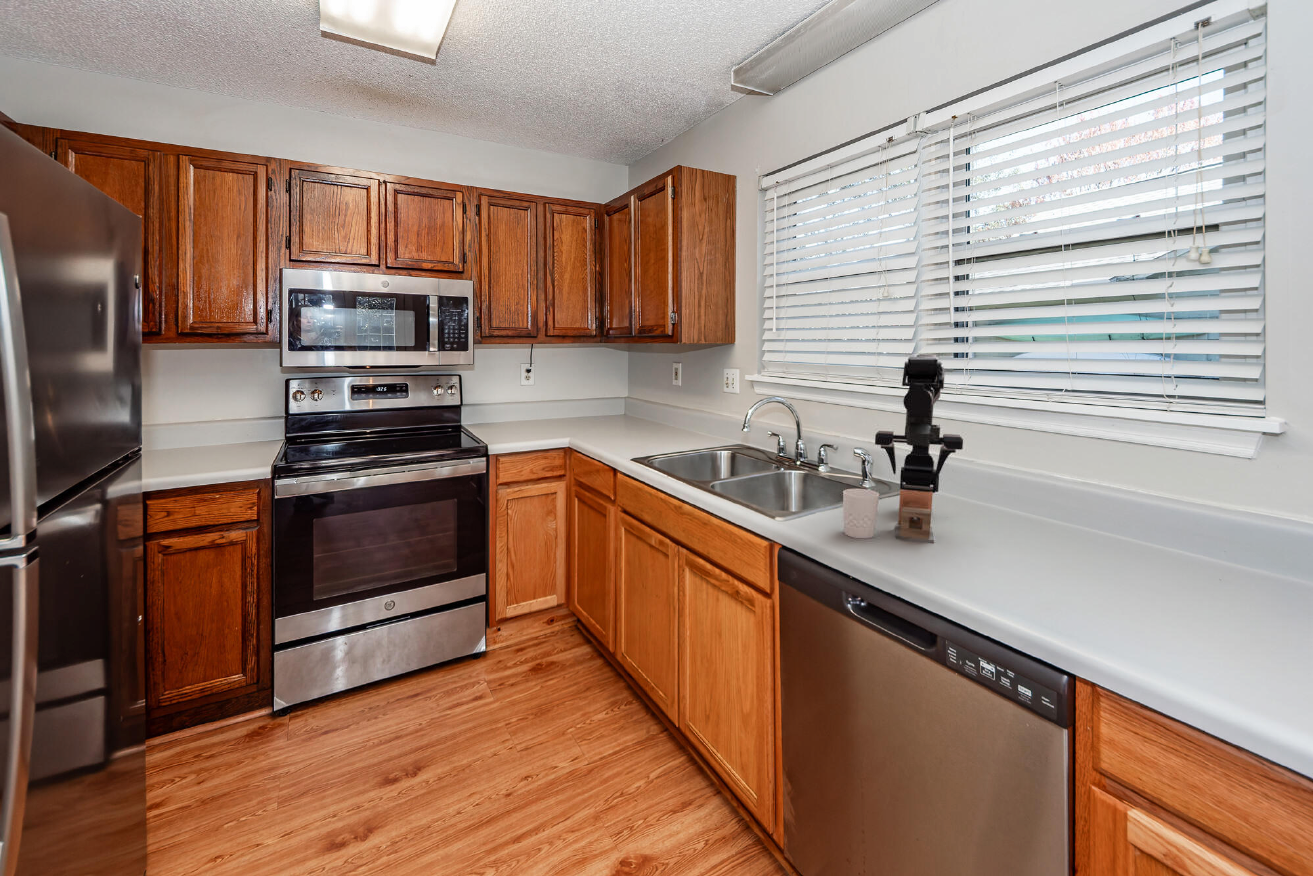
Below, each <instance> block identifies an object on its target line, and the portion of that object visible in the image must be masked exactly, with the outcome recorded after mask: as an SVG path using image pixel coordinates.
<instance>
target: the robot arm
mask: <svg viewBox="0 0 1313 876" xmlns="http://www.w3.org/2000/svg"><path fill="white" fill-rule="evenodd" d="M942 364H943V363H942V362H941V361H939V355H936V354H935V353H934V354H933V353H931V354H929V353H925V354H921V353H920V354H919V355H916V356H909V357H908V359H907V361H905V362H904V366H903V367H904V368H903V376H902V381H901V382H902V384H901V386H902V387H908V390H907V393H906V394H905V396H904V397H903V400H902V401H903V406H904V409H905V410H906V412H905V413H906V415H905V427H904V435H903V434H894V431H889V430H878V431H877V432H876V433H875V435H874V436H875V438H874V445H875V446H876V445H877V446H880V449H883V450H885V452H886V454H887V456H888V458H889V461H890V466H891V469H892V472H893V475H896V472H897V462H896V449H895V443H898V444H899V443H902V444H906V445H907V446H912V449H911V451H910V453H907V455H906V456H905V459H904V464H903V466H901V468H900V475H899V476H900V477H899V478H900V479H899V482H900V483H899V490H900V489H901V490H914V491H926V492H933V494H935V493H939V487H940V486H939V485H940V473H941V471H942V468H943V466H944V465H945V462H946V460H947V459H948V457H949V456H950V454H952V453H953V454H954V453H956V452H957V450H963V447H964V446H963V445H964V438H963V437H962V436H961V435H960V434H956V433H955V434H954V433H953V434H952V433H950V434H949V433H943V435H942V436H941V437H940V435H941V433H940V432H941V425H940V424H933V419H934V417H933V416H934V404H935V403H936V402H937V401H938V400H939V399H940V397H941V391H942V390H944V387H945V367H944V366H943V365H942ZM930 445H935V446H937V445H939V446H940V448H939V453H938V459H937V463H936V469H935V461H934V459H933V456H932V455H931V454H930Z"/></svg>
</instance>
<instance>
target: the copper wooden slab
mask: <svg viewBox="0 0 1313 876" xmlns="http://www.w3.org/2000/svg"><path fill="white" fill-rule="evenodd" d="M933 495H934V493H933V492H926V491H914V490H901V489H900V488H899V503H898V518H897V519H898V520H897V521H898V522H897V523H898V525H901V513H902V507H908V508H919V509H930V510H931V511H932V509H933V508H932V506H933ZM931 523H932V522H931ZM931 523H930V526H932V525H931ZM909 524H914V525H922V518H920V517H910V516H909Z"/></svg>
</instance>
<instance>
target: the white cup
mask: <svg viewBox="0 0 1313 876" xmlns="http://www.w3.org/2000/svg"><path fill="white" fill-rule="evenodd" d="M842 493H843V495H842V497H843V499H842V501H843V502H842V511H843V512H842V513H843V533H844V534H845V535H846V536H848V537H850V538H856V539H871V538H873V537H875V533H876V525H877V524H876V523H877V519H878V511H879V509H878V508H879V500H880V493H879V492H877V491H875V490H871V489H866V488H848V489H845V490H843V491H842Z"/></svg>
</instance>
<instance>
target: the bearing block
mask: <svg viewBox="0 0 1313 876" xmlns="http://www.w3.org/2000/svg"><path fill="white" fill-rule="evenodd" d="M909 516H910V517H920V518H922V525H914V524H909ZM931 520H932V510H930V509H919V508H908V507H902V513H901V525H898V522H896V523H895V539H897V540H898V539H899V540H908V541H916V542H925V543H933V544H934V543H935V536H934V532H933V526H931V525H930V523H932V521H931Z"/></svg>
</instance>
